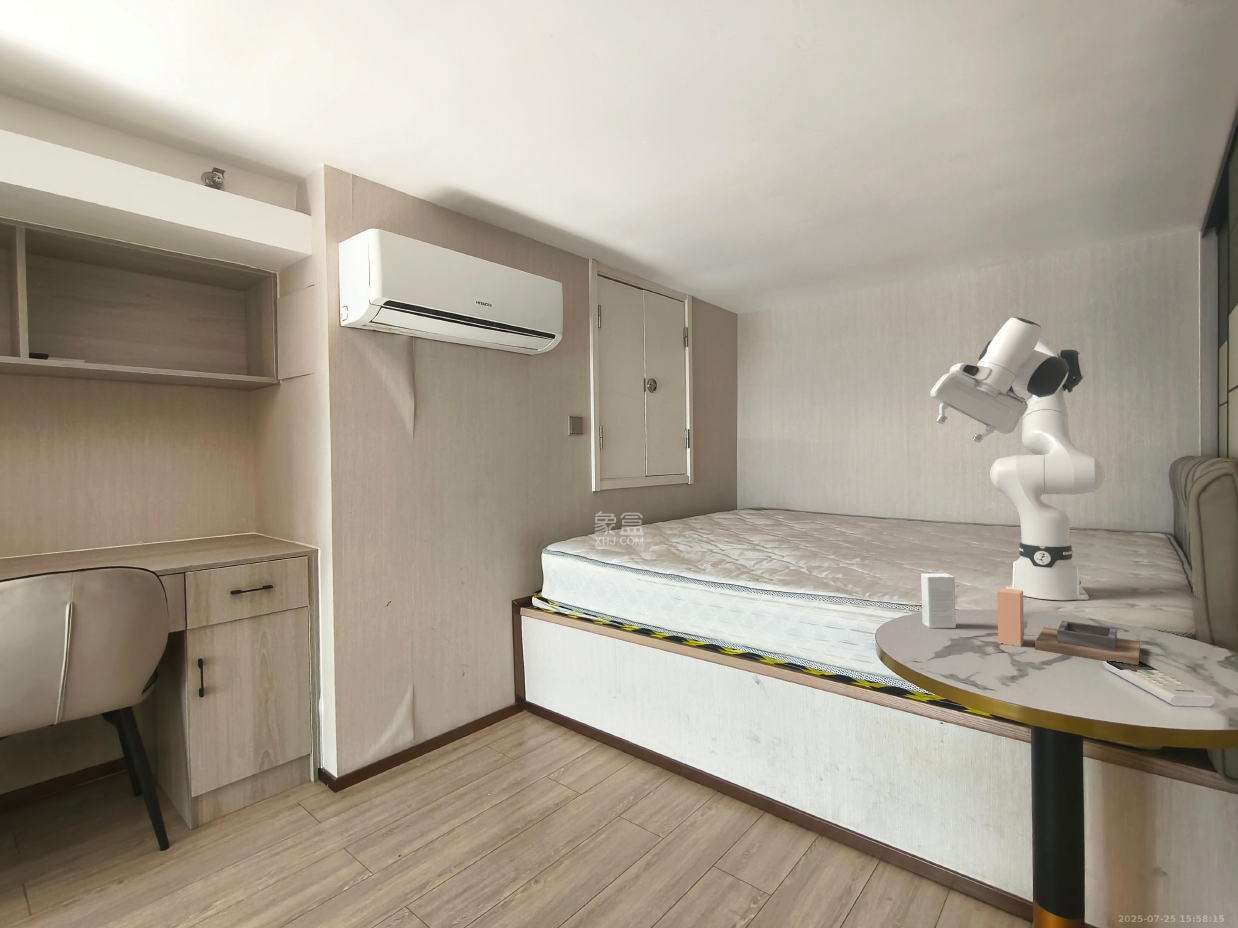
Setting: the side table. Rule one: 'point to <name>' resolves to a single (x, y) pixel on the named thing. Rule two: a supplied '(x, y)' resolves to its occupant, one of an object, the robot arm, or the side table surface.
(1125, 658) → the socket board
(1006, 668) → the side table surface
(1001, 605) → the peg
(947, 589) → the skincare box
